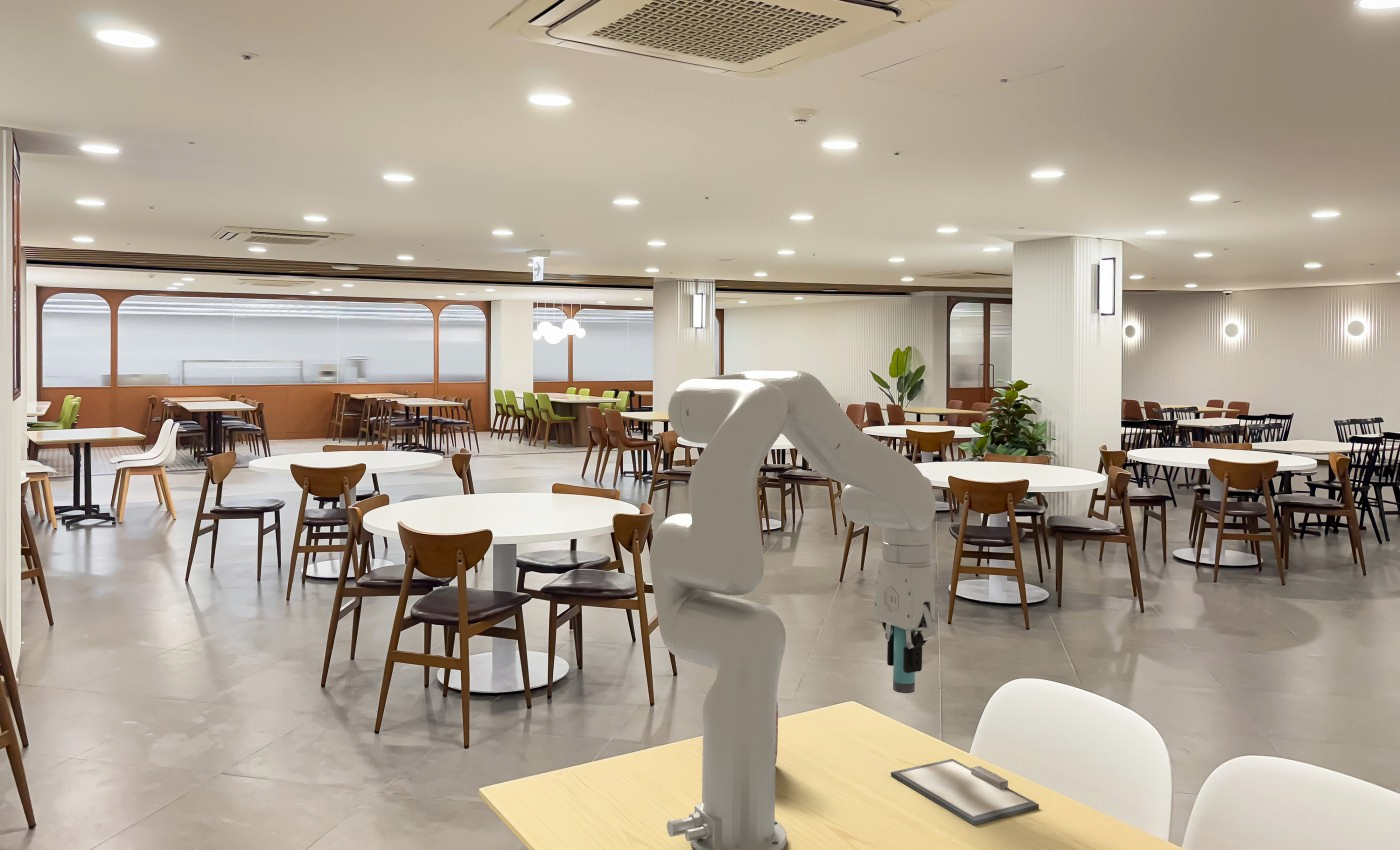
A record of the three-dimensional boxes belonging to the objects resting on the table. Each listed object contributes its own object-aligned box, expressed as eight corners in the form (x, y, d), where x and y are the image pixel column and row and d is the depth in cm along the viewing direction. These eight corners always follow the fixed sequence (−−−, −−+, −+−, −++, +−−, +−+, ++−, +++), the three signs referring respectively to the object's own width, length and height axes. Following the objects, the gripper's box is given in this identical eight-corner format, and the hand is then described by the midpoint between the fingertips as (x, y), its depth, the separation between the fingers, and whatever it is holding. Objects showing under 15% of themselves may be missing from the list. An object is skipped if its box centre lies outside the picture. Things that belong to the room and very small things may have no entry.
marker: (904, 694, 154) (906, 619, 153) (887, 688, 157) (889, 614, 156) (919, 690, 156) (921, 615, 155) (902, 684, 159) (904, 611, 158)
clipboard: (973, 825, 133) (973, 813, 133) (890, 775, 149) (891, 764, 149) (1038, 808, 139) (1039, 796, 139) (952, 762, 155) (952, 751, 155)
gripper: (855, 546, 161) (854, 657, 162) (921, 565, 146) (919, 686, 147) (892, 543, 164) (890, 651, 165) (960, 560, 149) (958, 679, 150)
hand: (904, 666), depth 156 cm, fingers closed on marker, 3 cm apart
